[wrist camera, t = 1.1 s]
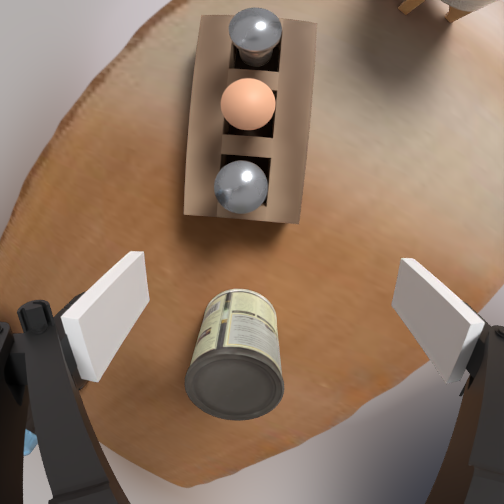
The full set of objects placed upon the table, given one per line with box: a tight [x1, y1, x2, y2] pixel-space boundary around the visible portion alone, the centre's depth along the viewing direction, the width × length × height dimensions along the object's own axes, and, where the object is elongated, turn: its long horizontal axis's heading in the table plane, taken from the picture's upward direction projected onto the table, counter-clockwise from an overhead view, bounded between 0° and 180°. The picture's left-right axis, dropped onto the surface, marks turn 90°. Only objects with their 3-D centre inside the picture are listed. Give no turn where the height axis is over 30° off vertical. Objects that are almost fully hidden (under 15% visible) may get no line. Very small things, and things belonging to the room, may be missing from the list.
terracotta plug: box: [221, 78, 276, 130], centre depth 26 cm, size 4×4×7 cm
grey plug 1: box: [229, 8, 282, 67], centre depth 24 cm, size 4×4×7 cm
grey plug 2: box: [214, 160, 268, 214], centre depth 28 cm, size 4×4×7 cm
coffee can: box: [185, 289, 284, 420], centre depth 36 cm, size 10×10×14 cm
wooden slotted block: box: [184, 15, 317, 224], centre depth 31 cm, size 12×22×6 cm, turn 175°
